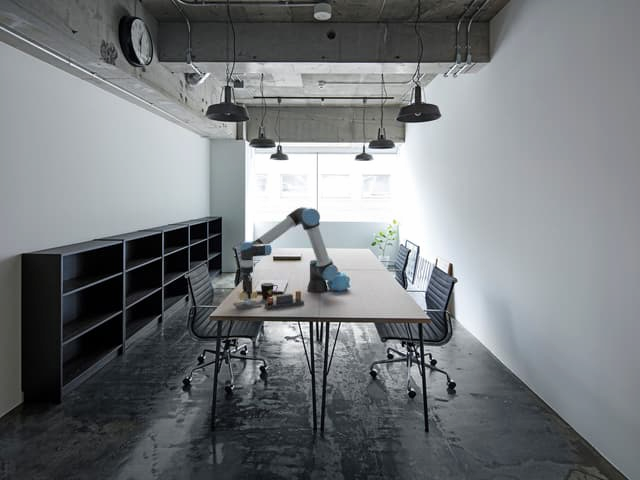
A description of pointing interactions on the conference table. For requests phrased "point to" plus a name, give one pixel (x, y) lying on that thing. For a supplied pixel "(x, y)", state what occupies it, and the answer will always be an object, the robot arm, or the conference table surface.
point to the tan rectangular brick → (243, 295)
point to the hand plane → (284, 301)
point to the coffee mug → (267, 290)
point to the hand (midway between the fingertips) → (247, 301)
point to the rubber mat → (247, 305)
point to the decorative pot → (339, 282)
